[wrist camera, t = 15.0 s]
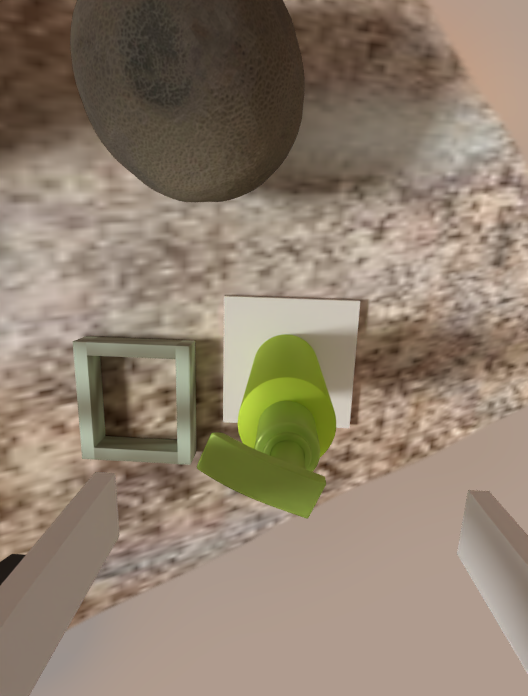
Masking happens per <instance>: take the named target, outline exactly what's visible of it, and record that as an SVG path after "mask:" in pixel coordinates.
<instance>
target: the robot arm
mask: <svg viewBox="0 0 528 696" xmlns="http://www.w3.org/2000/svg"><path fill="white" fill-rule="evenodd" d="M118 537H119V522H118V508H117V493H116V478H115V473H102V472H95V473H94V474H93V475H92V477H91V478H90V479H89V480H88V481H87V483H86V484H85V485H84V486H83V487H82V489H81V490H80V491H79V492H78V493H77V495H76V496H75V497H74V498H73V499H72V500H71V502H70V503H69V504H68V505H67V506H66V508H65V509H64V510H63V511H62V512H61V514H60V515H59V516H58V517H57V518H56V520H55V521H54V522H53V523H52V524H51V526H50V527H49V528H48V529H47V530H46V532H45V533H44V534H43V535H42V536H41V538H40V539H39V540H38V541H37V542H36V544H35V545H34V546H33V547H32V548H31V550H30V551H29V552H28V553H27V554H26V555H21V554H11V555H10V556H8V557H7V558H5V559H4V560H3V561H1V562H0V696H29V695H30V693H31V692H32V690H33V688H34V686H35V685H36V683H37V681H38V679H39V677H40V676H41V674H42V672H43V670H44V669H45V667H46V665H47V663H48V661H49V660H50V658H51V656H52V654H53V652H54V651H55V649H56V647H57V646H58V644H59V642H60V640H61V638H62V637H63V635H64V633H65V631H66V630H67V628H68V626H69V624H70V623H71V621H72V619H73V617H74V615H75V614H76V612H77V610H78V608H79V607H80V605H81V603H82V601H83V599H84V598H85V596H86V594H87V592H88V591H89V589H90V587H91V585H92V583H93V582H94V580H95V578H96V576H97V575H98V573H99V571H100V569H101V568H102V566H103V564H104V562H105V560H106V559H107V557H108V555H109V553H110V552H111V550H112V548H113V546H114V544H115V543H116V541H117V539H118ZM457 555H458V556H459V558H460V560H461V561H462V563H463V565H464V566H465V568H466V570H467V572H468V573H469V575H470V577H471V578H472V580H473V582H474V583H475V585H476V587H477V589H478V590H479V592H480V594H481V595H482V597H483V599H484V600H485V602H486V604H487V606H488V607H489V609H490V611H491V612H492V614H493V616H494V618H495V619H496V621H497V623H498V624H499V626H500V628H501V629H502V631H503V633H504V635H505V636H506V638H507V640H508V641H509V643H510V645H511V646H512V648H513V650H514V651H515V653H516V655H517V657H518V658H519V660H520V662H521V664H522V665H523V667H524V668H525V670H526V672H527V674H528V535H527V534H526V533H525V532H524V530H523V529H522V528H521V527H520V526H519V525H518V524H517V522H516V521H515V520H514V519H513V518H512V517H511V516H510V514H509V513H508V512H507V511H506V510H505V509H504V508H503V507H502V505H501V504H500V503H499V502H498V501H497V500H496V498H495V497H494V496H493V495H492V494H491V493H490V492H489V491H474V490H468V493H467V499H466V505H465V511H464V517H463V522H462V528H461V535H460V539H459V546H458V551H457Z"/></svg>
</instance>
